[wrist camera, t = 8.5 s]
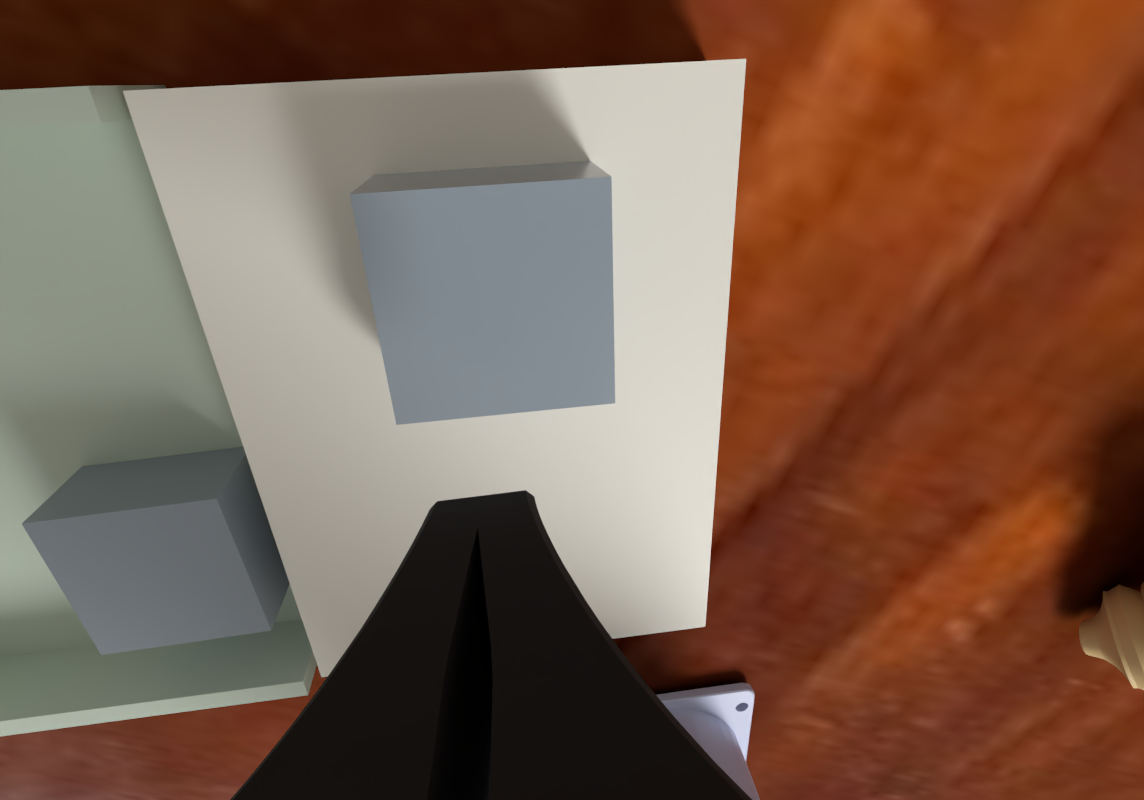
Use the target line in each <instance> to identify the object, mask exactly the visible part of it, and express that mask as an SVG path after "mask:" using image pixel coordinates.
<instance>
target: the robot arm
mask: <svg viewBox="0 0 1144 800" xmlns="http://www.w3.org/2000/svg"><path fill="white" fill-rule="evenodd" d="M754 697H755V695H754V692H753V689H752V687H751V686H750V685H749V684H747V683H735V684H728V685H721V686H714V687H706V688H699V689H692V690H685V691H678V692H671V693H664V694H657V695H656V694H655V693H654V692H653V691H652V690H651V688H650V687H649V686H648V685H647V684H646V682H645V681H644V680H643V679H642V677H641V676H640V675H639V674H638V672H637V671H636V670H635V669H634V667H633V666H632V665H631V663H630V662H629V661H628V659H627V658H626V657H625V655H624V654H623V653H622V652H621V650H620V649H619V647H618V646H617V645H616V643H615V642H614V640H613V639H612V638H611V636H610V635H609V634H608V632H607V631H606V629H605V628H604V627H603V625H602V624H601V622H600V621H599V620H598V618H597V617H596V615H595V614H594V612H593V611H592V609H591V608H590V606H589V605H588V603H587V602H586V600H585V598H584V597H583V595H582V594H581V592H580V590H579V589H578V587H577V585H576V584H575V582H574V581H573V579H572V577H571V576H570V574H569V572H568V571H567V569H566V568H565V566H564V564H563V562H562V560H561V559H560V557H559V555H558V553H557V551H556V549H555V547H554V546H553V544H552V542H551V540H550V538H549V536H548V534H547V531H546V529H545V527H544V525H543V522H542V520H541V517H540V515H539V512H538V509H537V506H536V502H535V497H534V496H533V495H532V494H530V493H529V492H527V491H526V490H524V491H515V492H507V493H499V494H491V495H483V496H475V497H467V498H459V499H451V500H443V501H437V502H436V503H435V504H434V505H433V506H432V507H431V508H430V510H429V512H428V514H427V516H426V518H425V520H424V522H423V524H422V526H421V528H420V530H419V532H418V534H417V536H416V537H415V539H414V541H413V543H412V545H411V547H410V548H409V550H408V552H407V554H406V556H405V557H404V559H403V561H402V563H401V564H400V566H399V568H398V570H397V571H396V573H395V575H394V576H393V578H392V580H391V581H390V583H389V585H388V586H387V588H386V589H385V591H384V593H383V594H382V596H381V598H380V599H379V601H378V602H377V604H376V606H375V607H374V609H373V611H372V612H371V614H370V615H369V617H368V619H367V620H366V622H365V623H364V625H363V626H362V628H361V629H360V631H359V632H358V634H357V635H356V637H355V638H354V639H353V641H352V642H351V644H350V645H349V647H348V648H347V650H346V651H345V652H344V654H343V655H342V657H341V658H340V660H339V661H338V663H337V664H336V665H335V667H334V668H333V670H332V671H331V673H330V674H329V675H328V677H327V678H326V680H325V681H324V683H323V684H322V686H321V687H320V688H319V690H318V691H317V692H316V694H315V695H314V696H313V698H312V699H311V700H310V702H309V703H308V704H307V706H306V707H305V708H304V710H303V711H302V712H301V714H300V715H299V716H298V718H297V719H296V720H295V721H294V723H293V724H292V725H291V727H290V728H289V729H288V730H287V732H286V733H285V734H284V736H283V737H282V738H281V739H280V741H279V742H278V743H277V744H276V746H275V747H274V748H273V749H272V750H271V752H270V753H269V754H268V755H267V757H266V758H265V759H264V760H263V762H262V763H261V764H260V765H259V767H258V768H257V769H256V770H255V771H254V773H253V774H252V775H251V776H250V777H249V779H248V780H247V781H246V782H245V783H244V785H243V786H242V787H241V788H240V789H239V790H238V792H237V793H236V794H235V795H234V796H233V797H232V798H231V800H760V798H759V795H758V793H757V790H756V788H755V785H754V782H753V780H752V777H751V774H750V772H749V769H748V767H747V764H746V758H747V750H748V743H749V735H750V728H751V720H752V712H753V705H754Z"/></svg>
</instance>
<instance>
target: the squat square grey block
mask: <svg viewBox="0 0 1144 800" xmlns="http://www.w3.org/2000/svg"><path fill="white" fill-rule="evenodd" d="M22 525H23V527H24V529H25V530H26V532H27V534H28V535H29V537H30V539H31V540H32V542H33V544H34V545H35V547H36V548H37V550H38V552H39V553H40V555H41V557H42V558H43V560H44V562H45V563H46V565H47V567H48V568H49V570H50V571H51V573H52V575H53V576H54V578H55V580H56V581H57V583H58V585H59V586H60V588H61V590H62V591H63V593H64V595H65V596H66V598H67V599H68V601H69V603H70V604H71V606H72V608H73V609H74V611H75V613H76V614H77V616H78V618H79V619H80V621H81V623H82V624H83V626H84V627H85V629H86V631H87V632H88V634H89V636H90V637H91V639H92V641H93V642H94V644H95V646H96V647H97V649H98V650H99V652H100V654H101V655H106V654H113V653H120V652H127V651H133V650H140V649H147V648H154V647H161V646H168V645H175V644H182V643H189V642H196V641H203V640H210V639H217V638H224V637H230V636H237V635H244V634H251V633H258V632H265V631H271V630H272V628H273V625H274V623H275V620H276V618H277V615H278V612H279V610H280V607H281V605H282V602H283V600H284V597H285V595H286V592H287V590H288V587H289V584H290V583H289V580H288V577H287V574H286V571H285V568H284V565H283V562H282V559H281V556H280V553H279V551H278V548H277V545H276V542H275V539H274V536H273V533H272V530H271V527H270V524H269V521H268V518H267V515H266V512H265V509H264V506H263V503H262V500H261V497H260V495H259V492H258V489H257V486H256V483H255V480H254V477H253V474H252V471H251V468H250V465H249V462H248V459H247V456H246V453H245V450H244V447H236V448H228V449H220V450H212V451H204V452H196V453H188V454H179V455H171V456H163V457H155V458H147V459H139V460H130V461H122V462H114V463H106V464H98V465H90V466H82V467H81V468H80V469H79V470H78V471H77V472H75V473H74V474H73V475H72V476H71V477H70V478H69V479H68V480H67V481H66V482H65V483H64V484H63V485H62V486H61V487H60V488H59V489H58V490H57V491H56V492H54V493H53V494H52V495H51V496H50V497H49V498H48V499H47V500H46V501H45V502H44V503H43V504H42V505H41V506H40V507H39V508H38V509H37V510H36V511H34V512H33V513H32V514H31V515H30V516H29V517H28V518H27V519H26V520H25V521H24V522H23V523H22Z"/></svg>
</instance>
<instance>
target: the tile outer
mask: <svg viewBox="0 0 1144 800" xmlns="http://www.w3.org/2000/svg"><path fill="white" fill-rule="evenodd" d="M350 198H351V203H352V208H353V213H354V218H355V223H356V228H357V233H358V238H359V243H360V248H361V253H362V258H363V263H364V267H365V272H366V277H367V282H368V287H369V292H370V297H371V302H372V307H373V312H374V317H375V322H376V327H377V332H378V336H379V341H380V346H381V351H382V356H383V361H384V366H385V371H386V376H387V381H388V386H389V391H390V396H391V401H392V405H393V410H394V415H395V420H396V425H400V424H410V423H421V422H431V421H441V420H451V419H461V418H471V417H481V416H491V415H502V414H512V413H522V412H532V411H542V410H552V409H562V408H572V407H583V406H593V405H603V404H613V403H615V358H614V298H613V237H612V177H611V176H610V175H609V174H607V173H606V172H605V171H603V170H602V169H601V168H599V167H598V166H597V165H595V164H594V163H593V162H591V161H580V162H564V163H548V164H533V165H517V166H502V167H486V168H471V169H455V170H440V171H424V172H409V173H393V174H378V175H372V176H371V177H370V178H369V179H368V180H366V181H365V182H364V183H363V184H362V185H360V186H359V187H358V188H357V189H355V190H354V191H353V192H352V193H351V194H350Z"/></svg>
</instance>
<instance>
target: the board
mask: <svg viewBox="0 0 1144 800" xmlns="http://www.w3.org/2000/svg"><path fill="white" fill-rule="evenodd" d="M745 68H746V59H733V60H713V61H694V62H674V63H655V64H635V65H616V66H596V67H577V68H557V69H537V70H518V71H498V72H479V73H459V74H440V75H420V76H401V77H381V78H362V79H342V80H323V81H303V82H284V83H264V84H245V85H225V86H206V87H186V88H167V89H147V90H127V91H123V94H124V97H125V100H126V103H127V105H128V108H129V111H130V114H131V117H132V120H133V123H134V126H135V129H136V132H137V135H138V138H139V141H140V144H141V147H142V150H143V153H144V156H145V159H146V161H147V164H148V167H149V170H150V173H151V176H152V179H153V182H154V185H155V188H156V191H157V194H158V197H159V200H160V203H161V206H162V209H163V212H164V215H165V217H166V220H167V223H168V226H169V229H170V232H171V235H172V238H173V241H174V244H175V247H176V250H177V253H178V256H179V259H180V262H181V265H182V268H183V271H184V273H185V276H186V279H187V282H188V285H189V288H190V291H191V294H192V297H193V300H194V303H195V306H196V309H197V312H198V315H199V318H200V321H201V324H202V327H203V329H204V332H205V335H206V338H207V341H208V344H209V347H210V350H211V353H212V356H213V359H214V362H215V365H216V368H217V371H218V374H219V377H220V380H221V383H222V385H223V388H224V391H225V394H226V397H227V400H228V403H229V406H230V409H231V412H232V415H233V418H234V421H235V424H236V427H237V430H238V433H239V436H240V439H241V441H242V444H243V447H244V450H245V453H246V456H247V459H248V462H249V465H250V468H251V471H252V474H253V477H254V480H255V483H256V486H257V489H258V492H259V495H260V497H261V500H262V503H263V506H264V509H265V512H266V515H267V518H268V521H269V524H270V527H271V530H272V533H273V536H274V539H275V542H276V545H277V548H278V551H279V553H280V556H281V559H282V562H283V565H284V568H285V571H286V574H287V577H288V580H289V583H290V586H291V589H292V592H293V595H294V598H295V601H296V604H297V606H298V609H299V612H300V615H301V618H302V621H303V624H304V627H305V630H306V633H307V636H308V639H309V642H310V645H311V648H312V651H313V654H314V657H315V660H316V662H317V665H318V668H319V671H320V674H321V677H327V676H328V675H329V674H330V673H331V671H332V670H333V668H334V667H335V665H336V664H337V663H338V661H339V660H340V658H341V657H342V655H343V654H344V652H345V651H346V650H347V648H348V647H349V645H350V644H351V642H352V641H353V639H354V638H355V637H356V635H357V634H358V632H359V631H360V629H361V628H362V626H363V625H364V623H365V622H366V620H367V619H368V617H369V615H370V614H371V612H372V611H373V609H374V607H375V606H376V604H377V602H378V601H379V599H380V598H381V596H382V594H383V593H384V591H385V589H386V588H387V586H388V585H389V583H390V581H391V580H392V578H393V576H394V575H395V573H396V571H397V570H398V568H399V566H400V564H401V563H402V561H403V559H404V557H405V556H406V554H407V552H408V550H409V548H410V547H411V545H412V543H413V541H414V539H415V537H416V536H417V534H418V532H419V530H420V528H421V526H422V524H423V522H424V520H425V518H426V516H427V514H428V512H429V510H430V508H431V507H432V506H433V505H434V504H435V503H436V502H437V501H443V500H451V499H459V498H467V497H475V496H483V495H491V494H499V493H507V492H515V491H524V490H526V491H527V492H529V493H530V494H532V495H533V496H534V497H535V502H536V506H537V509H538V512H539V515H540V517H541V520H542V522H543V525H544V527H545V529H546V531H547V534H548V536H549V538H550V540H551V542H552V544H553V546H554V547H555V549H556V551H557V553H558V555H559V557H560V559H561V560H562V562H563V564H564V566H565V568H566V569H567V571H568V572H569V574H570V576H571V577H572V579H573V581H574V582H575V584H576V585H577V587H578V589H579V590H580V592H581V594H582V595H583V597H584V598H585V600H586V602H587V603H588V605H589V606H590V608H591V609H592V611H593V612H594V614H595V615H596V617H597V618H598V620H599V621H600V622H601V624H602V625H603V627H604V628H605V629H606V631H607V632H608V634H609V635H610V636H611V638H612V639H615V638H623V637H630V636H638V635H646V634H653V633H661V632H668V631H676V630H683V629H691V628H699V627H705V624H706V610H707V596H708V582H709V568H710V555H711V541H712V527H713V513H714V499H715V485H716V471H717V457H718V443H719V429H720V416H721V402H722V388H723V374H724V360H725V346H726V332H727V318H728V304H729V290H730V277H731V263H732V249H733V235H734V221H735V207H736V193H737V179H738V165H739V151H740V138H741V124H742V110H743V96H744V82H745ZM580 161H591V162H593V163H594V164H595V165H597V166H598V167H599V168H601V169H602V170H603V171H605V172H606V173H607V174H609V175H610V176H611V177H612V237H613V298H614V358H615V403H613V404H603V405H593V406H583V407H572V408H562V409H552V410H542V411H532V412H522V413H512V414H502V415H491V416H481V417H471V418H461V419H451V420H441V421H431V422H421V423H410V424H400V425H396V420H395V415H394V410H393V405H392V401H391V396H390V391H389V386H388V381H387V376H386V371H385V366H384V361H383V356H382V351H381V346H380V341H379V336H378V332H377V327H376V322H375V317H374V312H373V307H372V302H371V297H370V292H369V287H368V282H367V277H366V272H365V267H364V263H363V258H362V253H361V248H360V243H359V238H358V233H357V228H356V223H355V218H354V213H353V208H352V203H351V198H350V194H351V193H352V192H353V191H354V190H355V189H357V188H358V187H359V186H360V185H362V184H363V183H364V182H365V181H366V180H368V179H369V178H370V177H371V176H372V175H378V174H393V173H409V172H424V171H440V170H455V169H471V168H486V167H502V166H517V165H533V164H548V163H564V162H580Z"/></svg>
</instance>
